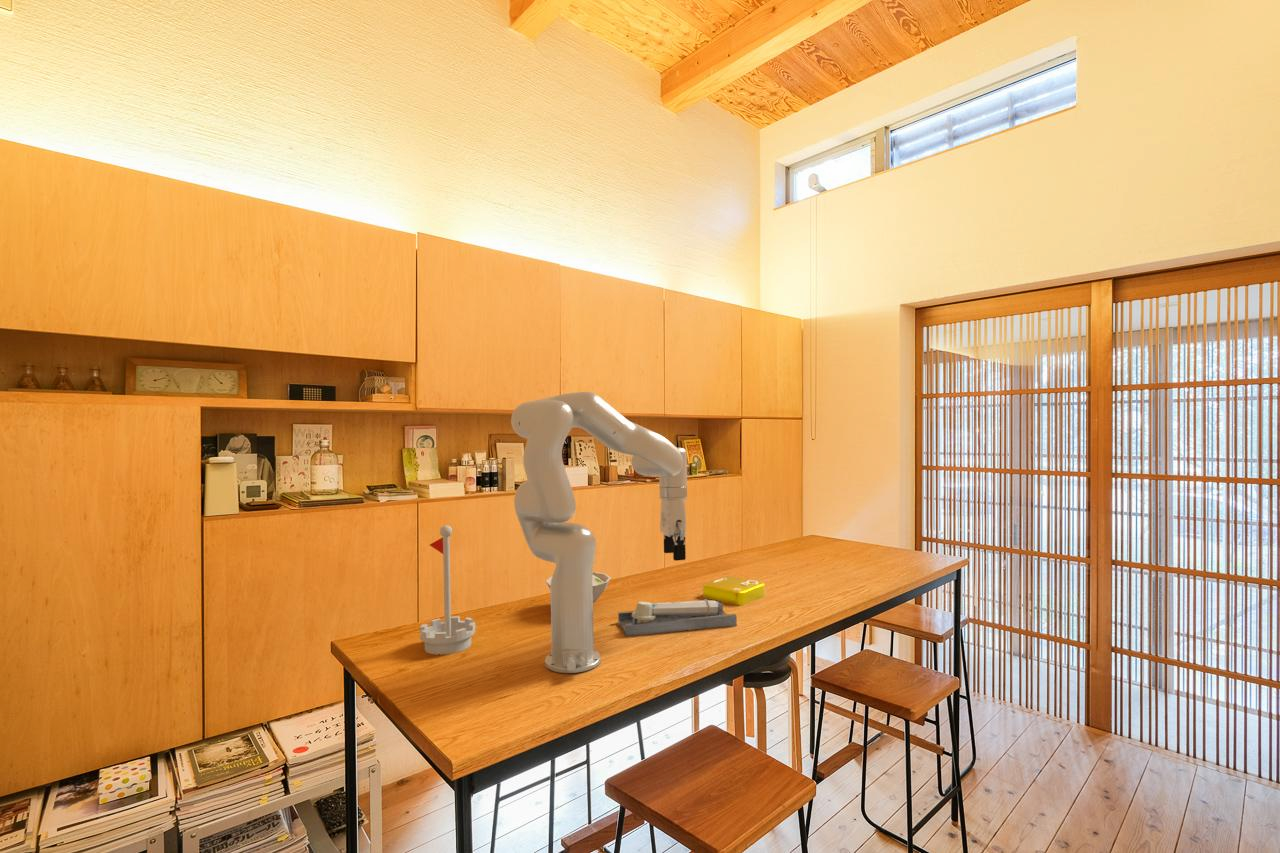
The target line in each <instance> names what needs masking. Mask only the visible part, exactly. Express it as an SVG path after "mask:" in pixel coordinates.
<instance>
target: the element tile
mask: <svg viewBox="0 0 1280 853" xmlns="http://www.w3.org/2000/svg"><path fill="white" fill-rule="evenodd" d="M702 597H703V598H704V599H707V598H708V599H707V600H711V599H712V600H711V601H716V600H717V601H718V602H720V601H721V602H720V603H724V602H725V603H724V604H729V605H733V604H734V606H745V605H747V604H750V603H752V602H754V600H755V601H757V600H759V598H760V599H762V598H764V597H766V584H765V583H764V582H762V581H758V580H753V579H752V580H751V579H747V578H741V577H736V576H729V575H728V576H724V577H721V578H717V579H715V580H711V581H709V582H706V583H703V584H702ZM751 601H752V602H751ZM749 602H750V603H749ZM746 603H747V604H746ZM744 604H745V605H744Z"/></svg>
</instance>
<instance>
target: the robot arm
mask: <svg viewBox="0 0 1280 853" xmlns="http://www.w3.org/2000/svg"><path fill="white" fill-rule="evenodd" d="M510 423H511V427H512V429H513V431H514V433H515V434H516V435H518V436H519V437H521V438H522V439H527V442H526V444H525V447H524V451H523V456H522V462H523V469H524V472H525V476H526V479H527V480H525V481H523V482H522V483H520V485H519V486H518V488H517V490H516V491H515V495H514V499H513V500H514V501H513V506H514V511H515V515H516V517H517V519H518V522H519V525H520V528H521V531H522V533H523V536H524V538H525V541H526V544H527V546H528V548H529V550H530V552H531V553H532V554H533V555H534V556H535V557H536V558H537V559H540V560H542V561H546V562H551V563H554V564H555V569H554V571H553V574H552V575H551V576H552V579H551V587H550V588H549V590H550V623H551V624H550V626H551V629H550V630H551V637H550V638H551V653H549V654H547V655H546V656H545V658H544V666H545V667H546V668H547V669H548V670H550V671H553V672H555V673H560V674H561V673H562V674H577V673H582V672H583V673H584V672H587V671H590V670H593V669H595V668H596V667H598V666H599V665H600V663H601V661H602V660H601V659H602V656H601V654H600V652H598V651H597V650H595V648H594V603H593V593H592V575H593V572H594V571H593V570H594V562H595V557H596V550H597V549H596V548H597V541H596V537H595V535H594V534H593V532H592V531H591V530H590V529H589V528H588V527H586V526H584V525H582V524H579V523H574V522H570V521H569V520H570V519H572V518H574V515H575V513H576V510H577V502H576V498H575V495H574V491H573V488H572V485H571V484H570V479H569V477H568V474H567V471H566V469H565V464H564V461H563V447H564V444H565V441H566V438H567V437H568V435H569V433H570V431H571V429H577V428H579V429H582V430H584V431H585V432H586V433H588V434H589V435H591V437H594V439H596V440H597V441H599V442H600V443H601V444H602V445H604V446H605V447H606V448H608V449H609V450H612V451H615V452H617V453H620V454H626V455H631V460H630V462H631V464H630V465H631V467H632V469H633V470H634V471H635V472H636V473H637V474H638V475H641V476H645V477H659V478H658V479H659V480H658V481H659V483H658V485H659V488H658V489H659V499H660V500H661V501H660V524H659V525H660V526H659V530H660V532H661V533H662V534H663V553H664V554H673V555H672V556H673V561H685V560H686V557H687V555H686V554H687V553H686V544H687V543H686V534H687V517H686V502H685V500H686V499H688V467H687V466H688V465H687V459H688V458H687V451H686V449H685V448H684V447H676V446H675V445H674V444H673V443H672V442H671V441H670V440H668V439H667V438H665V437H664V436H662V435H661V434H659V433H657V432H656V431H653V430H651V429H648V428H646V427H644V426H642V425H639V424H637V423H635V422H632V421H630V420H629V419H627V418H626V417H625V416H624V415H623V414H622V413H620V412H619V411H618V410H617V409H615V408H614V407H613V406H612V405H610V404H609V403H608V402H607V401H605V399H603V397H601V396H600V395H598V394H596V393H594V392H591V391H578V392H568V393H563V394H559V395H555V396H550V397H546V398H545V397H544V398H540V399H535V400H531V401H527V402H523V403H520V404H519V405H518V406H517V407H516V408H515V409H514V410H513V412H512V414H511V419H510ZM567 521H569V522H567Z"/></svg>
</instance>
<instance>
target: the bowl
mask: <svg viewBox="0 0 1280 853" xmlns="http://www.w3.org/2000/svg"><path fill="white" fill-rule="evenodd" d="M552 576H553V575H551V576H550V577H548V578H547V579H546V580H545V583H546V585H547V586H548V588H549V589H550V587H551V579H552ZM610 581H611V576H609V575H608V574H607V573H603V572H598V571H597V572H596V571H593V575H592V593H593V604H595V603H596V601H598V599H599V598H600V597H601V596H602V594H603V593H604V592H605V590H606V589H607V587H608V585H609V583H610Z"/></svg>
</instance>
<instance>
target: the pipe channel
mask: <svg viewBox="0 0 1280 853" xmlns="http://www.w3.org/2000/svg"><path fill="white" fill-rule="evenodd" d="M719 604H720V613H719V614H718V615H717V616H709V615H708V616H706V617H705V616H704V615H656V618H655V619H654V621H653V622H642V623H633V617H632V613H633V612H635V611H636V610H631V611H629V610H628V611H619V612H617V618H618V619H617V623H618V625H619V624H620V625H619V626H620V628H621V630H622V631H624V632H623V633H624V636H625V637H627V638H628V637H635V636H636V637H637V636H644V635H645V636H647V635H654V634H665V633H666V634H667V633H676V631H678V632H685V631H686V630H688V631H696V630H695V629H698V630H706V629H705V628H708V629H714V627H718V628H725V627H726V628H727V626H728V627H736V626H737V625H738V623H737V614H736V613H731V614H730V613H729V614H728V613H726V611H724V603H723V602H719Z"/></svg>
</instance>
